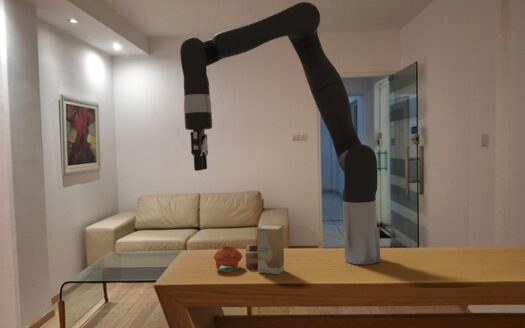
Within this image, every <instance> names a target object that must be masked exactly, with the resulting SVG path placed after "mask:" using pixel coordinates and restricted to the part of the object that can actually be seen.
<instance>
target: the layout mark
mask: <svg viewBox="0 0 525 328" xmlns="http://www.w3.org/2000/svg"><path fill="white" fill-rule="evenodd" d="M239 269H240V266H239V265H238V266H237V269H235V270H234V267H233V266H230V267H226V266H222V265H221V266H220V269H219V270H218V271H219V272H223V273H224V272H226V273H227V272H228V273H229V272H234V271H237V270H239Z"/></svg>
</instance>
